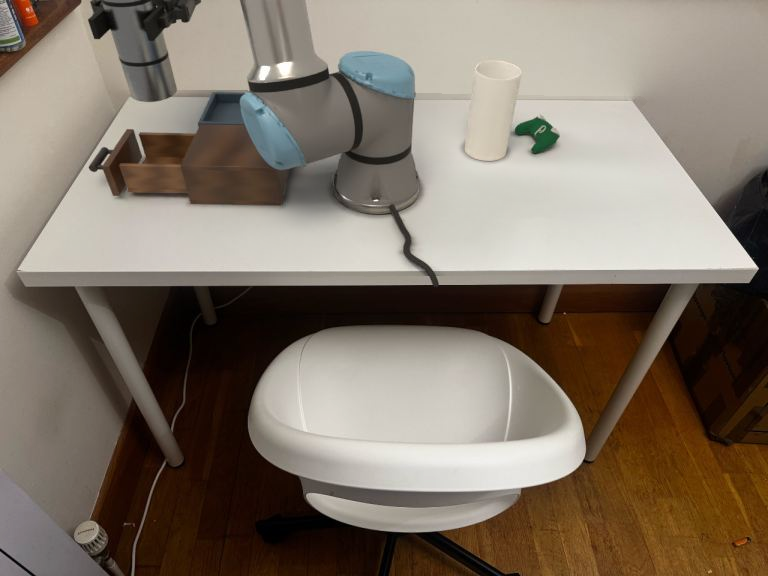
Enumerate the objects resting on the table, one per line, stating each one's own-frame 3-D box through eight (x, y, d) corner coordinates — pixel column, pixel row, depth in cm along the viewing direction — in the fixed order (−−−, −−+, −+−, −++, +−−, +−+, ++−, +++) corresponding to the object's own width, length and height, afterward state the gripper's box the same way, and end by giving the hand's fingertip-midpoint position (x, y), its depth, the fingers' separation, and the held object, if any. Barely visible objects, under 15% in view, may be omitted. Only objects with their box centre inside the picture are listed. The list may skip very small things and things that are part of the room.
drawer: (88, 195, 96) (75, 166, 92) (113, 156, 105) (103, 128, 101) (197, 197, 97) (190, 168, 92) (213, 158, 105) (207, 130, 101)
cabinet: (190, 203, 97) (180, 165, 91) (208, 160, 106) (200, 124, 101) (281, 205, 97) (276, 167, 92) (291, 162, 107) (287, 125, 101)
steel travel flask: (185, 92, 92) (158, -22, 80) (144, 106, 88) (109, -11, 77) (163, 78, 96) (133, -34, 84) (122, 91, 92) (85, -24, 80)
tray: (277, 104, 123) (276, 93, 121) (267, 135, 113) (266, 124, 112) (215, 102, 123) (212, 91, 121) (200, 134, 113) (197, 123, 112)
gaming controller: (541, 161, 112) (566, 139, 110) (532, 151, 109) (557, 128, 107) (520, 138, 118) (543, 117, 116) (511, 128, 115) (534, 106, 113)
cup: (514, 156, 109) (530, 76, 98) (476, 164, 107) (489, 83, 96) (493, 136, 115) (506, 57, 104) (457, 143, 113) (466, 64, 101)
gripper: (232, 5, 99) (196, 59, 83) (119, 2, 100) (61, 54, 83) (225, -43, 94) (185, 4, 78) (105, -46, 94) (40, 0, 78)
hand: (121, 30), depth 81 cm, fingers closed on steel travel flask, 7 cm apart
